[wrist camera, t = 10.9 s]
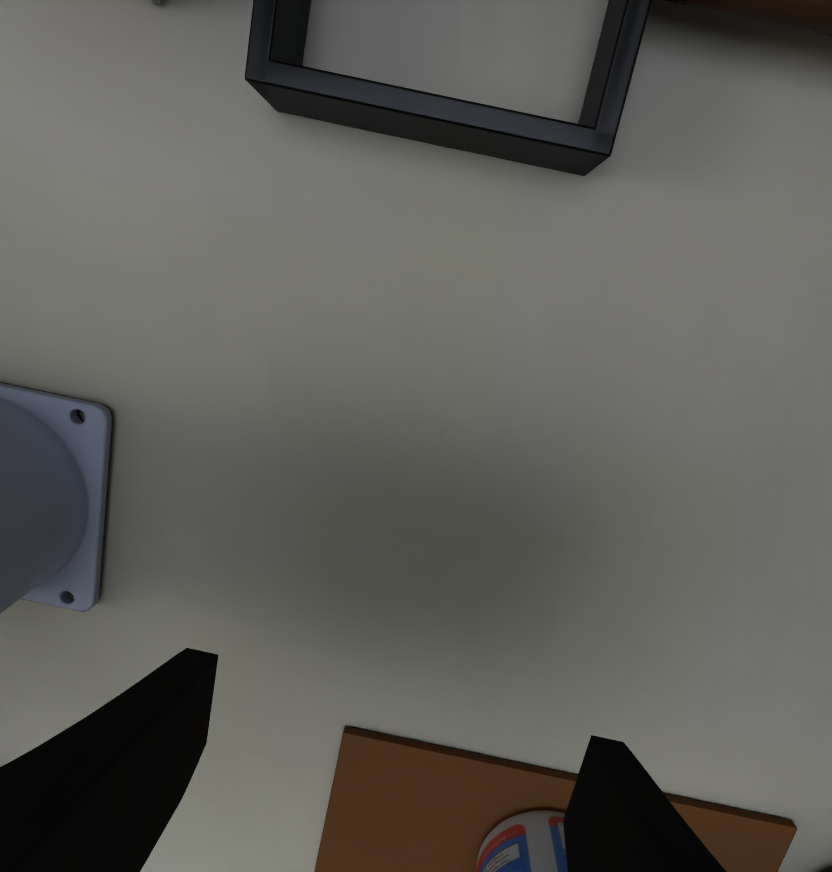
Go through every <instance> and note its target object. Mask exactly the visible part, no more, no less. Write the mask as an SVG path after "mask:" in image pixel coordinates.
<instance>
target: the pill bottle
mask: <svg viewBox="0 0 832 872" xmlns="http://www.w3.org/2000/svg"><path fill="white" fill-rule="evenodd" d="M564 816H565V814H564V813H561V812H556V811H546V810H539V811H530V812H525V813H521V814H517V815H515V816H512V817H510V818H508V819H506V820H504V821H503V822H501V823H500V824H499V825H497V826H496V827H495V828H494V829H493V830H492V831H491V832H490V833H489V834H488V836H487V837H486V838H485V840H484V842H483V844H482V846H481V848H480V851H479V854H478V859H477V872H568V870H567V861H566V851H565V839H564V828H563V819H564Z"/></svg>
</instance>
